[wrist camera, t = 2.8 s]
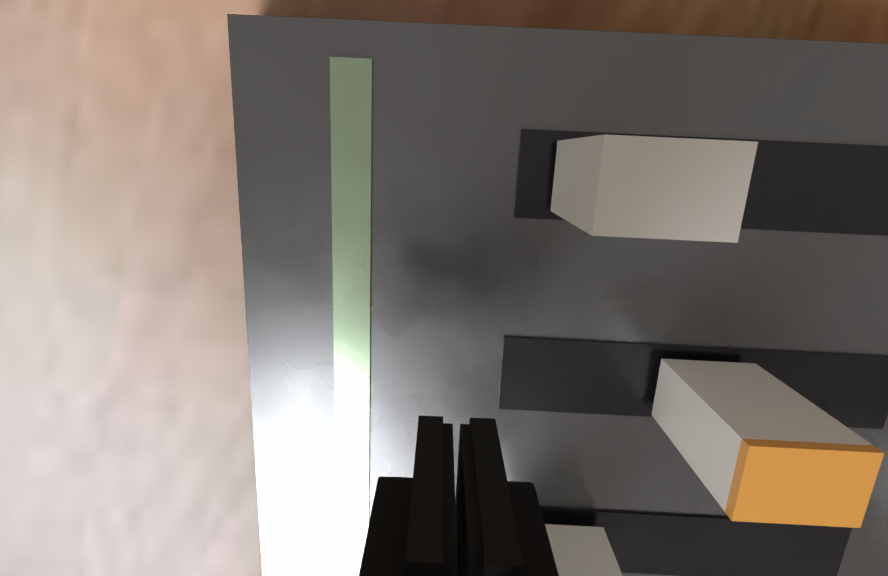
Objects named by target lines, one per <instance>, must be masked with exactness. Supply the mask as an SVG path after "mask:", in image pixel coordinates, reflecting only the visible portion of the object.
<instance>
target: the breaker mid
mask: <svg viewBox="0 0 888 576" xmlns="http://www.w3.org/2000/svg"><path fill="white" fill-rule="evenodd" d="M652 416H653V417H654V419H655V420H656V421H657V423H658V424H659V425H660V427H661V428H662V429H663V431H664V432H665V433H666V435H667V436H668V437H669V439H670V440H671V441H672V443H673V444H674V445H675V447H676V448H677V449H678V451H679V452H680V453H681V455H682V456H683V457H684V459H685V460H686V461H687V462H688V464H689V465H690V466H691V468H692V469H693V470H694V472H695V473H696V474H697V476H698V477H699V478H700V480H701V481H702V482H703V484H704V485H705V486H706V488H707V489H708V490H709V492H710V493H711V494H712V496H713V497H714V498H715V500H716V501H717V502H718V504H719V505H720V506H721V508H722V509H723V510H724V512H725V513H726V514H727V516H728V517H729V518H730V520H731V521H739V522H758V523H777V524H795V525H814V526H832V527H851V528H861V525H862V522H863V518H864V515H865V512H866V509H867V506H868V503H869V500H870V496H871V493H872V490H873V487H874V484H875V481H876V478H877V474H878V471H879V468H880V465H881V462H882V459H883V456H884V453H883V452H882V451H881V450H879V449H878V448H876V447H875V446H873V445H872V444H871V443H869V442H868V441H866V440H865V439H863V438H862V437H861V436H859V435H858V434H856V433H855V432H853V431H852V430H850V429H849V428H848V427H846V426H845V425H843V424H842V423H840V422H839V421H838V420H836V419H835V418H833V417H832V416H830V415H829V414H827V413H826V412H825V411H823V410H822V409H820V408H819V407H817V406H816V405H815V404H813V403H812V402H810V401H809V400H807V399H806V398H805V397H803V396H802V395H800V394H799V393H797V392H796V391H794V390H793V389H792V388H790V387H789V386H787V385H786V384H784V383H783V382H782V381H780V380H779V379H777V378H776V377H774V376H773V375H772V374H770V373H769V372H767V371H766V370H764V369H763V368H761V367H760V366H759V365H757V364H756V363H738V362H718V361H698V360H679V359H661V363H660V369H659V375H658V380H657V386H656V392H655V398H654V403H653V409H652Z"/></svg>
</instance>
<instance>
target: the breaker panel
mask: <svg viewBox="0 0 888 576" xmlns="http://www.w3.org/2000/svg"><path fill="white" fill-rule="evenodd" d="M227 17H228V33H229V49H230V65H231V81H232V97H233V113H234V129H235V145H236V161H237V177H238V193H239V209H240V225H241V242H242V258H243V274H244V290H245V306H246V322H247V338H248V354H249V370H250V386H251V402H252V418H253V434H254V450H255V466H256V483H257V499H258V515H259V531H260V547H261V563H262V576H359V571H360V566H361V561H362V556H363V551H364V546H365V541H366V536H367V531H368V526H369V521H370V516H371V511H372V506H373V501H374V496H375V491H376V485H377V481H378V478H379V476H386V477H412V478H413V472H414V461H415V450H416V440H417V429H418V418H419V416H443V423H451V424H453V445H454V474H455V499H456V482H457V466H458V450H459V434H460V424H469V421H470V418H494V419H495V420H496V425H497V430H498V435H499V440H500V446H501V451H502V456H503V461H504V466H505V471H506V477H507V481H517V482H532V483H533V484H534V487H535V489H536V493H537V497H538V500H539V504H540V508H541V512H542V515H543V519H544V523H545V524H553V525H571V526H590V527H604V530H605V532H606V535H607V538H608V540H609V543H610V545H611V548H612V550H613V553H614V555H615V558H616V560H617V563H618V565H619V568H620V570H621V573H622V575H623V576H888V44H880V43H858V42H836V41H813V40H791V39H769V38H747V37H725V36H703V35H680V34H658V33H636V32H614V31H592V30H569V29H547V28H525V27H503V26H481V25H459V24H436V23H414V22H392V21H370V20H348V19H325V18H303V17H281V16H259V15H237V14H227ZM604 134H605V135H626V136H647V137H668V138H690V139H711V140H732V141H753V142H758V145H757V150H756V155H755V160H754V165H753V170H752V174H751V179H750V184H749V189H748V194H747V199H746V204H745V209H744V214H743V219H742V224H741V228H740V233H739V238H738V243H731V242H710V241H690V240H669V239H649V238H628V237H608V236H591V235H590V234H588V233H586V232H585V231H583V230H581V229H580V228H578V227H576V226H575V225H573V224H571V223H570V222H568V221H566V220H565V219H563V218H561V217H560V216H558V215H556V214H555V213H553V212H551V211H550V210H551V200H552V190H553V180H554V170H555V161H556V151H557V141H559V140H566V139H574V138H582V137H589V136H597V135H604ZM661 359H679V360H698V361H718V362H738V363H756V364H757V365H759V366H760V367H761V368H763V369H764V370H766V371H767V372H769V373H770V374H772V375H773V376H774V377H776V378H777V379H779V380H780V381H782V382H783V383H784V384H786V385H787V386H789V387H790V388H792V389H793V390H794V391H796V392H797V393H799V394H800V395H802V396H803V397H805V398H806V399H807V400H809V401H810V402H812V403H813V404H815V405H816V406H817V407H819V408H820V409H822V410H823V411H825V412H826V413H827V414H829V415H830V416H832V417H833V418H835V419H836V420H838V421H839V422H840V423H842V424H843V425H845V426H846V427H848V428H849V429H850V430H852V431H853V432H855V433H856V434H858V435H859V436H861V437H862V438H863V439H865V440H866V441H868V442H869V443H871V444H872V445H873V446H875V447H876V448H878V449H879V450H881V451H882V452H883V453H884V456H883V459H882V462H881V465H880V468H879V471H878V474H877V478H876V481H875V484H874V487H873V490H872V493H871V496H870V500H869V503H868V506H867V509H866V512H865V515H864V518H863V522H862V525H861V528H851V527H832V526H814V525H795V524H777V523H758V522H739V521H731V520H730V518H729V517H728V516H727V514H726V513H725V512H724V510H723V509H722V508H721V506H720V505H719V504H718V502H717V501H716V500H715V498H714V497H713V496H712V494H711V493H710V492H709V490H708V489H707V488H706V486H705V485H704V484H703V482H702V481H701V480H700V478H699V477H698V476H697V474H696V473H695V472H694V470H693V469H692V468H691V466H690V465H689V464H688V462H687V461H686V460H685V459H684V457H683V456H682V455H681V453H680V452H679V451H678V449H677V448H676V447H675V445H674V444H673V443H672V441H671V440H670V439H669V437H668V436H667V435H666V433H665V432H664V431H663V429H662V428H661V427H660V425H659V424H658V423H657V421H656V420H655V419H654V417H653V416H652V409H653V403H654V398H655V392H656V386H657V380H658V375H659V369H660V363H661Z"/></svg>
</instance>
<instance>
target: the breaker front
mask: <svg viewBox="0 0 888 576" xmlns="http://www.w3.org/2000/svg"><path fill="white" fill-rule="evenodd" d="M757 145H758V142H753V141H732V140H711V139H690V138H668V137H647V136H626V135H605V134H604V135H597V136H589V137H582V138H574V139H566V140H559V141H557V151H556V161H555V170H554V180H553V190H552V200H551V210H550V211H551V212H553V213H555V214H556V215H558V216H560V217H561V218H563V219H565V220H566V221H568V222H570V223H571V224H573V225H575V226H576V227H578V228H580V229H581V230H583V231H585V232H586V233H588V234H590V235H591V236H608V237H628V238H649V239H669V240H690V241H710V242H731V243H738V238H739V233H740V228H741V224H742V219H743V214H744V209H745V204H746V199H747V194H748V189H749V184H750V179H751V174H752V170H753V165H754V160H755V155H756V150H757Z"/></svg>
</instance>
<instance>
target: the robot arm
mask: <svg viewBox="0 0 888 576" xmlns="http://www.w3.org/2000/svg"><path fill="white" fill-rule="evenodd" d="M359 576H559V574H558V571H557V567H556V563H555V560H554V556H553V552H552V548H551V545H550V541H549V537H548V534H547V530H546V526H545V523H544V519H543V515H542V512H541V508H540V504H539V500H538V497H537V493H536V489H535V487H534V484H533V483H532V482H517V481H507V477H506V471H505V466H504V461H503V456H502V451H501V446H500V440H499V435H498V430H497V425H496V420H495V419H494V418H470V421H469V424H460V434H459V450H458V466H457V482H456V499H455V474H454V445H453V424H451V423H443V416H419V418H418V429H417V440H416V450H415V461H414V472H413V478H412V477H386V476H379V478H378V481H377V485H376V491H375V496H374V501H373V506H372V511H371V516H370V521H369V526H368V531H367V536H366V541H365V546H364V551H363V556H362V561H361V566H360V571H359Z"/></svg>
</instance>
